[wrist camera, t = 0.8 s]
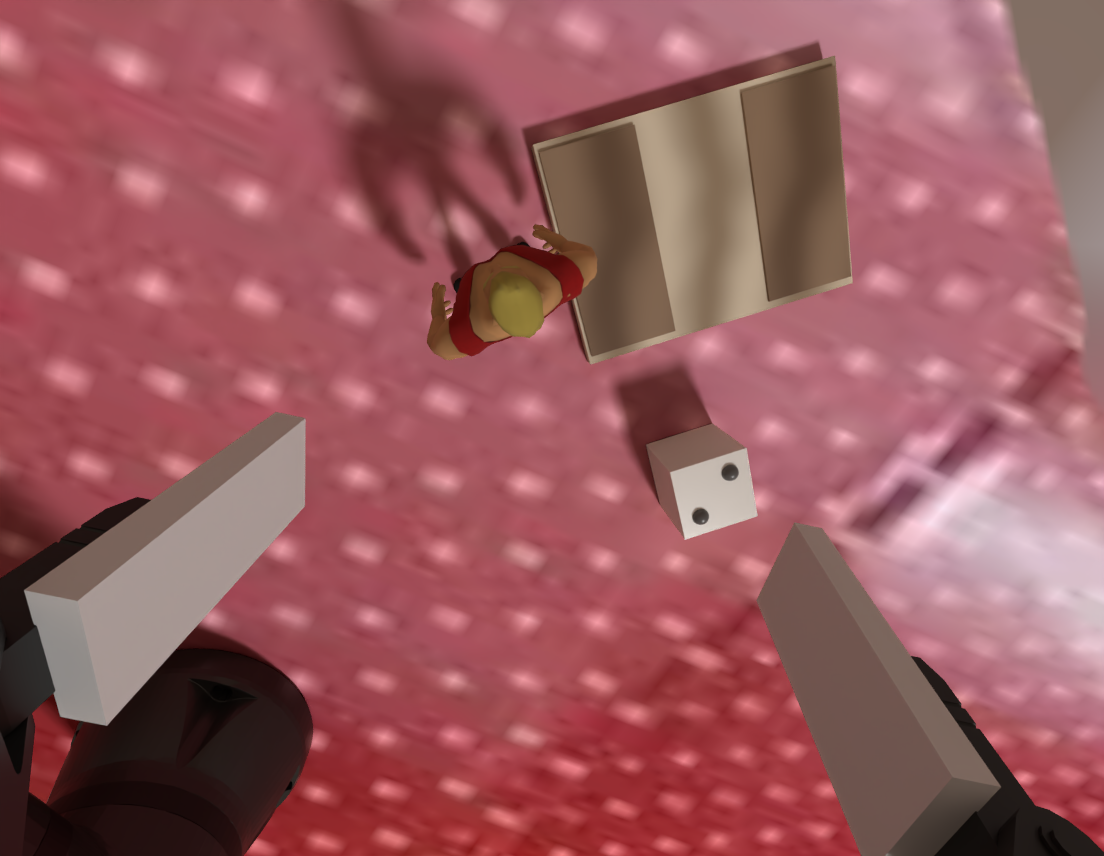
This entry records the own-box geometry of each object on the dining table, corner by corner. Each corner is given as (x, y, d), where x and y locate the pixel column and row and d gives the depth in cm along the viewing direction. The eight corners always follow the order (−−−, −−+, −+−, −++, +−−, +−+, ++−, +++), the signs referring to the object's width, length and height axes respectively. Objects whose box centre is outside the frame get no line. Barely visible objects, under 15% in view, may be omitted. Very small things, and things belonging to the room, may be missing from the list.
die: (660, 504, 39) (688, 543, 33) (645, 444, 37) (672, 475, 32) (723, 484, 39) (761, 519, 34) (712, 423, 37) (750, 450, 32)
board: (587, 361, 34) (591, 365, 33) (531, 148, 30) (533, 143, 29) (842, 282, 35) (854, 283, 34) (824, 61, 31) (837, 54, 30)
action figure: (552, 214, 31) (612, 181, 17) (579, 268, 33) (656, 280, 18) (416, 292, 32) (366, 324, 18) (448, 344, 33) (426, 411, 19)
